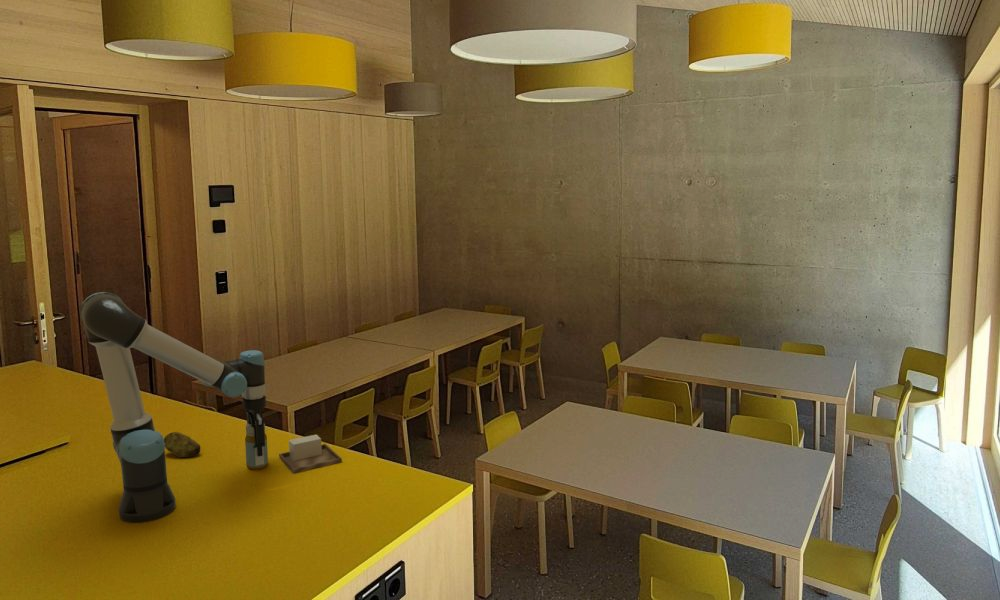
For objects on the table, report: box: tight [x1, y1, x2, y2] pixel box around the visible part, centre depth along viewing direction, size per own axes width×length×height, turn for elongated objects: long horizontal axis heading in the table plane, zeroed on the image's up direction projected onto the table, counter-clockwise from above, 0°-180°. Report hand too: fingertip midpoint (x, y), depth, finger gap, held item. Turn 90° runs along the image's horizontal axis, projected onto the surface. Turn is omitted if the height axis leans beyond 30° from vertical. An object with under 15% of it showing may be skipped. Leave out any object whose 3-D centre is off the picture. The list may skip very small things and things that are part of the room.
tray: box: [278, 443, 343, 475], centre depth 242 cm, size 17×16×2 cm
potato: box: [163, 431, 201, 458], centre depth 247 cm, size 8×13×8 cm, turn 60°
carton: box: [288, 434, 322, 461], centre depth 246 cm, size 10×5×6 cm, turn 124°
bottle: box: [244, 422, 269, 471], centre depth 236 cm, size 7×7×15 cm
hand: (257, 461), depth 237 cm, fingers closed on bottle, 6 cm apart
